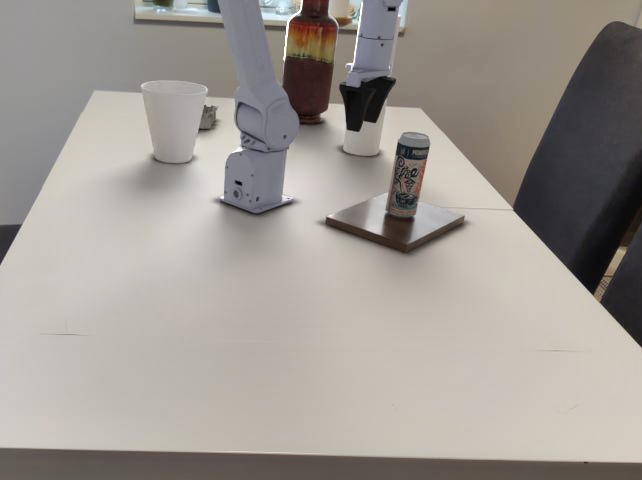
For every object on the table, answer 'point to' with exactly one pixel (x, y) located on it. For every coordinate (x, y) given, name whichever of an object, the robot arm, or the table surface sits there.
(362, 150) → the cylindrical container
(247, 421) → the table surface
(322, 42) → the vase
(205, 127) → the egg carton
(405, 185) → the beer can
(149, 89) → the cup
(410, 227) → the serving board
